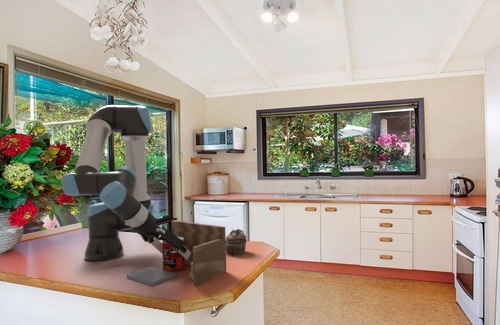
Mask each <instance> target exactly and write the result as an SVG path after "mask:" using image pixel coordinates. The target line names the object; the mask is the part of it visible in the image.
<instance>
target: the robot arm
mask: <svg viewBox="0 0 500 325" xmlns="http://www.w3.org/2000/svg"><path fill="white" fill-rule="evenodd" d="M85 131H86V133H85V137H84V140H83V143H82V146H81V149H80V153H79V155H78V160H77V162H76V164H75V168H74V171H73V172H67V173H65V174H64V175H63V177H62V179H61V180H62V181H61V183H62V184H61V185H62V186H61V187H62V192H63V193H64V195H66V196H71V197H72V196H75V197H76V196H77V197H81V196H94V195H95V196H97V195H98V196H99V200H101V202H97V203H94V204H91V205H90V206H89V207H88V211H87V212H88V214H87V219H88V221H87V222H88V241H87V245H86V248H85V250H84V260H85V261H90V262H99V261H108V260H112V259H116V258H120V257H121V256H122V255H124V247H123V244H122V242H121V239H120V237H119V231H131V230H132V231H134V232H135V233H136V234H138V235H139V236H140V237H141V238H142V240H143V241H144V243H148V244H150V245H152V247H153V248H155V250H157V251H158V252H159V253H160V254H162V255H163V250H162V242H161V241H162V240H163V241H164V242H166V243H168V244H170V245H171V246H173V247H175V248H176V251H178V252H179V253H180V254H181V255H182V256H183V257H184V258H185V259H188V258H189V256H190V254H191V252H190V251H189V250H188V249H187V248H186V247H185V246H184V244H185V242H184V241H182V240H181V239H179V238H178V237H177V236H175V235H174V234H172V233H171V231H169V230H168V229H167V228H166V227H165V226H159V225H158V224H156V222H157V219H156V217H155V216H154V211H155V202H154V201H153V200H152V199H151V197H150V196H149V195H148V185H147V183H148V182H147V150H146V140H147V139H148V138H149V137H150V134H151V133H153V126H152V120H151V115H150V110H149V108H148V107H147V106H144V105H138V104H137V105H133V104H132V105H131V104H130V105H123V104H122V105H120V104H119V105H116V104H110V105H105V106H103V107H100V108H99V109H98V110H96V111H95V112H94V113H92V114H91V116H89V118H88V119H87V122H86V124H85ZM114 133H116V134H117V133H119V134H120V138H121V139H122V140H124V160H125V161H124V165H122V166H119V167H117V168H116V169H115V171H102V172H101V171H100V169H101V166H102V162H103V158H104V152H105V149H106V145H107V142H108V141H107V140H108V138H109V137H110V136H111V134H114ZM149 133H150V134H149Z"/></svg>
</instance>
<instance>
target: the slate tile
mask: <svg viewBox="0 0 500 325" xmlns="http://www.w3.org/2000/svg"><path fill="white" fill-rule="evenodd" d="M175 277H177V272H169V271H166V270H164V269H163V268H158V267H154V266H148V267H145V268H142V269H139V270H136V271H134V272H130V273H128V274H126V278H128V279H130V280H132V281H136V282H139V283H142V284H145V285H148V286H150V287H153V286H156V285H158V284H161V283H163V282H166V281H168V280H171V279H173V278H175Z"/></svg>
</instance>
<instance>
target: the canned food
mask: <svg viewBox="0 0 500 325" xmlns="http://www.w3.org/2000/svg"><path fill="white" fill-rule="evenodd" d="M178 238H179V239H181V240H182V241H184V238H183V237H178ZM161 241H162V242H161V243H162V250H163V254H162V270H166V271H169V272H173V273H177V272H179V271H181V270H182V271H183V270H184V269H185V266H186V264H185V258H184V257H183V256H182V255H181V254H180V253H179V252H178V251H176V248H175V247H173V246H171V245H170V244H168V243H166V242H164V241H163V240H161Z"/></svg>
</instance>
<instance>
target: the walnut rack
mask: <svg viewBox="0 0 500 325" xmlns="http://www.w3.org/2000/svg"><path fill="white" fill-rule="evenodd" d="M170 224H171V230H172V234H174V235H175V236H177V237H183V238H184V242H185V244H184V246H185V247H186V248H187V249H188V250H189V251H190V252H191V254H190V256H189V258H188V259H185V265H188V266H191V263H192V262H193V279H192V280H193V285H194V286H199V285H201V284H203V283H206V282H207V281H209V280H212V279H214V278H216V277H219V276H220V275H222V274H225V273H227V253H226V237H227V236H226V226H221V225H212V224H206V223H199V222H191V221H190V222H189V221H182V220H175V219H174V220H171V223H170Z"/></svg>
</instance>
